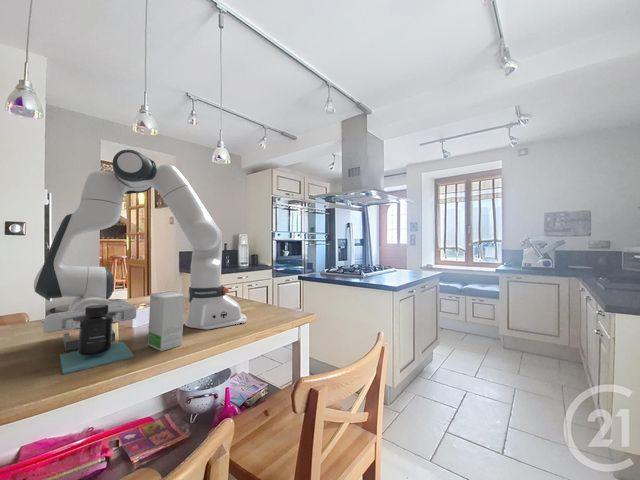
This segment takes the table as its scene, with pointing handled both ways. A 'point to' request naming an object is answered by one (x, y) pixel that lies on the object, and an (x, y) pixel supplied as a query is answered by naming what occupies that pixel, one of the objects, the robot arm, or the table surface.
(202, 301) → the robot arm
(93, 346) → the supplement bottle
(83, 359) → the mat
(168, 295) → the skincare box
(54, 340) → the table surface
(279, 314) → the table surface
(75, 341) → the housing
